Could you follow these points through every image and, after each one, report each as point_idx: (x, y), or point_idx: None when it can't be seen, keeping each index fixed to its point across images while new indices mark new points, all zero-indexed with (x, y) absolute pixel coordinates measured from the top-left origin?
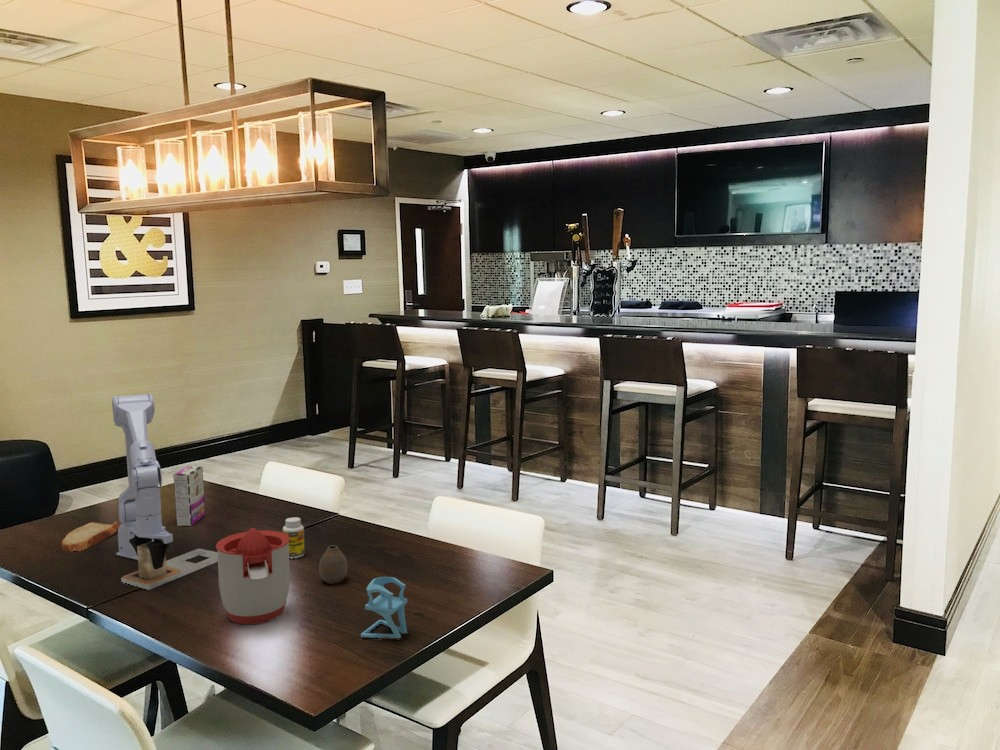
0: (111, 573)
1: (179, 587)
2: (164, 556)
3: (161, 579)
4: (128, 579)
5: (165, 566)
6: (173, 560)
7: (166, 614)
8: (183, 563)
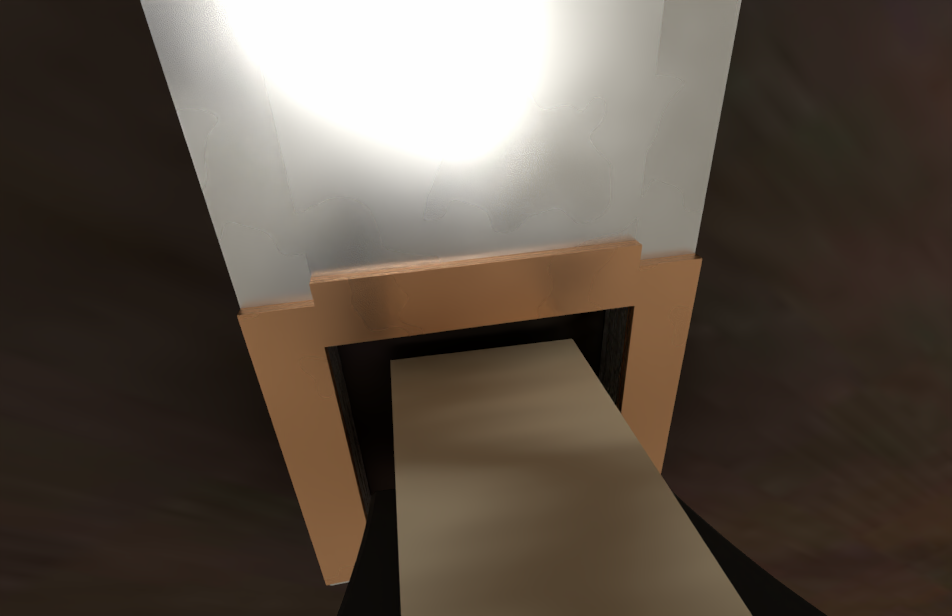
0: (19, 533)
1: (799, 365)
2: (730, 546)
3: (661, 442)
4: None
5: (605, 398)
6: (249, 30)
7: (923, 547)
8: (504, 40)
